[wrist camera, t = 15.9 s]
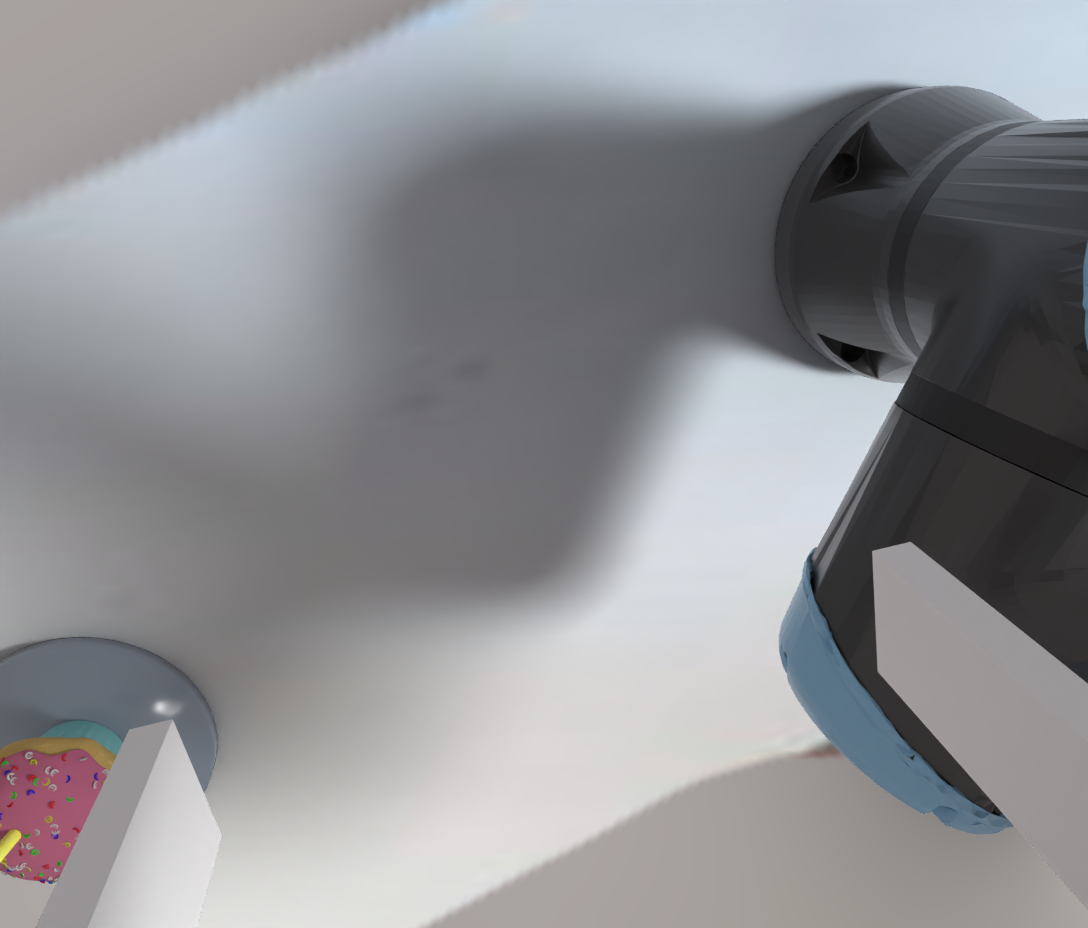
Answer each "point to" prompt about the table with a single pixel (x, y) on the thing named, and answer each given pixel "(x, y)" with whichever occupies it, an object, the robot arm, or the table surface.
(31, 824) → the cupcake
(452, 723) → the table surface
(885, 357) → the robot arm
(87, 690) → the slate plate
